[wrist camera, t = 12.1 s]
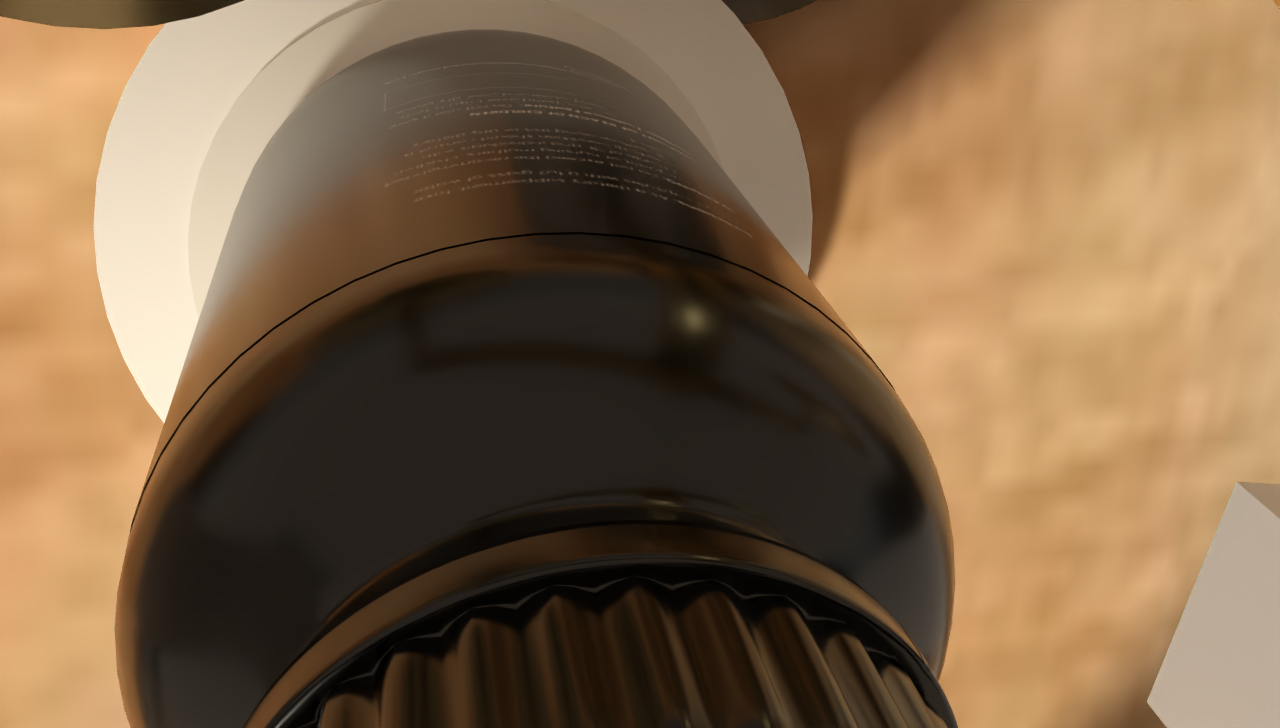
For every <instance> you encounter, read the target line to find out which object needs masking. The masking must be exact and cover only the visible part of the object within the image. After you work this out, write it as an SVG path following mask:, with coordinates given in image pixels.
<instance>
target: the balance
mask: <svg viewBox="0 0 1280 728" xmlns="http://www.w3.org/2000/svg"><path fill="white" fill-rule="evenodd" d="M242 1H244V0H0V16H2V17H7V18H12V19H18V20H23V21H29V22H34V23H40V24H45V25H51V26H61V27H78V28H95V29H112V28H127V27H142V26H154V25H159V24H164V23H169V22H174V21H179V20H184V19H189V18H194V17H199V16H202V15H204V14H207V13H210V12H213V11H216V10H219V9H222V8H225V7H227V6H230V5H233V4H236V3H239V2H242ZM722 1H723V2H724V3H725V4H726V6H727V7H728V8H729V9H730V10H731V11H732V12H733V13H734V14H735V15H736V16H737V18H738V19H739V20H740V22H741V23H742V24H745V23H751V22H756V21H760V20H765V19H770V18H774V17H777V16H780V15H783V14H786V13H789V12H792V11H794V10H797V9H800V8H802V7H804V6H806V5H808V4H810V3H812V2H814V1H816V0H722ZM1273 1H1274V2H1275V4H1276V5H1277V6H1278V7H1279V8H1280V0H1273Z"/></svg>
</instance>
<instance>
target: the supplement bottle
mask: <svg viewBox="0 0 1280 728" xmlns="http://www.w3.org/2000/svg"><path fill="white" fill-rule="evenodd" d="M954 589H955V568H954V544H953V536H952V529H951V523H950V517H949V511H948V506H947V503H946V499H945V496H944V492H943V489H942V486H941V482H940V479H939V475H938V472H937V468H936V466H935V464H934V461H933V459H932V457H931V454H930V452H929V450H928V447H927V445H926V443H925V440H924V438H923V437H922V435H921V433H920V431H919V430H918V428H917V426H916V424H915V423H914V421H913V419H912V418H911V416H910V414H909V412H908V411H907V409H906V407H905V406H904V404H903V402H902V401H901V399H900V398H899V396H898V395H897V393H896V392H895V390H894V388H893V386H892V385H891V383H890V382H889V381H888V379H887V378H886V377H885V375H884V374H883V373H882V371H881V370H880V369H879V367H878V366H877V365H876V363H875V362H874V361H873V360H872V358H871V357H870V356H869V354H868V353H867V352H866V350H865V349H864V348H863V346H862V345H861V344H860V342H859V341H858V340H857V339H856V337H855V336H854V335H853V334H852V332H851V331H850V330H849V329H848V327H847V326H846V325H845V323H844V322H843V321H842V320H841V318H840V317H839V316H838V315H837V313H836V312H835V311H834V309H833V308H832V307H831V306H830V304H829V303H828V302H827V301H826V299H825V298H824V297H823V296H822V294H821V293H820V292H819V291H818V289H817V288H816V287H815V285H814V284H813V283H812V282H811V280H810V279H809V278H808V277H807V275H806V274H805V273H804V272H803V270H802V269H801V268H800V267H799V265H798V264H797V263H796V261H795V260H794V259H793V258H792V256H791V255H790V254H789V253H788V251H787V250H786V249H785V248H784V246H783V245H782V244H781V243H780V241H779V240H778V239H777V237H776V236H775V235H774V234H773V232H772V231H771V230H770V229H769V227H768V226H767V225H766V224H765V222H764V221H763V220H762V219H761V217H760V216H759V215H758V213H757V212H756V211H755V210H754V208H753V207H752V206H751V205H750V203H749V202H748V201H747V200H746V198H745V197H744V196H743V195H742V193H741V192H740V191H739V189H738V188H737V187H736V186H735V184H734V183H733V182H732V181H731V179H730V178H729V177H728V176H727V174H726V173H725V172H724V171H723V169H722V168H721V167H720V165H719V164H718V163H717V162H716V160H715V159H714V158H713V157H712V155H711V154H710V153H709V152H708V150H707V149H706V148H705V147H704V145H703V144H702V143H701V142H700V140H699V139H698V138H697V137H696V135H695V134H694V133H693V132H692V131H691V130H690V129H689V128H688V127H687V125H686V124H685V123H684V122H683V121H682V120H681V119H680V117H679V116H678V115H677V114H676V113H675V112H674V111H673V110H672V109H671V108H670V107H669V106H668V105H667V104H666V103H665V102H664V101H663V100H662V99H661V98H660V97H659V96H658V95H656V94H655V93H654V92H653V91H652V90H651V89H649V88H648V87H647V86H646V85H645V84H643V83H642V82H641V81H639V80H638V79H636V78H635V77H633V76H632V75H630V74H629V73H628V72H626V71H625V70H623V69H622V68H620V67H619V66H617V65H615V64H613V63H611V62H610V61H608V60H606V59H604V58H602V57H600V56H599V55H596V54H594V53H592V52H589V51H587V50H585V49H582V48H580V47H578V46H575V45H572V44H569V43H566V42H563V41H559V40H556V39H553V38H549V37H545V36H540V35H535V34H530V33H525V32H516V31H506V30H462V31H452V32H443V33H438V34H433V35H428V36H423V37H418V38H415V39H412V40H408V41H405V42H402V43H399V44H395V45H392V46H390V47H388V48H385V49H383V50H380V51H378V52H376V53H373V54H371V55H369V56H367V57H365V58H363V59H361V60H359V61H358V62H356V63H354V64H352V65H350V66H348V67H346V68H345V69H343V70H342V71H340V72H339V73H338V74H336V75H335V76H333V77H332V78H330V79H329V80H327V81H326V82H324V83H323V84H322V85H321V86H320V87H318V88H317V89H316V90H315V91H314V92H313V93H311V94H310V95H309V96H308V97H307V98H305V99H304V100H303V101H302V102H301V103H300V105H299V106H298V107H297V108H296V109H295V110H294V111H293V112H292V113H291V114H290V115H289V116H288V117H287V118H286V119H285V121H284V122H283V123H282V125H281V126H280V127H279V129H278V130H277V131H276V132H275V134H274V135H273V136H272V138H271V139H270V140H269V142H268V143H267V145H266V147H265V148H264V150H263V152H262V153H261V155H260V157H259V158H258V160H257V162H256V163H255V165H254V167H253V169H252V171H251V173H250V176H249V178H248V180H247V182H246V184H245V186H244V189H243V191H242V194H241V196H240V199H239V202H238V204H237V206H236V209H235V211H234V214H233V217H232V220H231V223H230V226H229V229H228V232H227V235H226V238H225V241H224V244H223V247H222V250H221V253H220V256H219V259H218V262H217V265H216V268H215V271H214V274H213V277H212V280H211V283H210V286H209V289H208V293H207V296H206V299H205V302H204V305H203V308H202V311H201V314H200V317H199V320H198V323H197V326H196V329H195V332H194V335H193V338H192V341H191V344H190V347H189V350H188V353H187V356H186V359H185V362H184V365H183V368H182V371H181V374H180V377H179V380H178V383H177V386H176V389H175V392H174V395H173V399H172V402H171V405H170V408H169V411H168V414H167V417H166V420H165V423H164V426H163V429H162V432H161V435H160V438H159V441H158V444H157V447H156V450H155V453H154V456H153V459H152V462H151V465H150V468H149V471H148V474H147V477H146V480H145V483H144V487H143V490H142V493H141V496H140V499H139V502H138V505H137V508H136V511H135V514H134V518H133V521H132V525H131V530H130V534H129V539H128V543H127V548H126V553H125V558H124V563H123V567H122V572H121V577H120V582H119V587H118V592H117V605H116V618H115V643H116V661H117V672H118V678H119V684H120V689H121V694H122V700H123V705H124V709H125V712H126V715H127V718H128V721H129V724H130V727H131V728H958V726H957V722H956V720H955V717H954V714H953V712H952V709H951V707H950V705H949V702H948V700H947V698H946V696H945V694H944V692H943V690H942V688H941V686H940V684H939V679H940V676H941V672H942V669H943V666H944V662H945V656H946V651H947V646H948V641H949V636H950V630H951V625H952V615H953V602H954Z"/></svg>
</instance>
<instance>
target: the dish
mask: <svg viewBox="0 0 1280 728" xmlns="http://www.w3.org/2000/svg"><path fill="white" fill-rule="evenodd" d="M462 30H506V31H516V32H525V33H530V34H535V35H540V36H545V37H549V38H553V39H556V40H559V41H563V42H566V43H569V44H572V45H575V46H578V47H580V48H582V49H585V50H587V51H589V52H592V53H594V54H596V55H599V56H600V57H602V58H604V59H606V60H608V61H610V62H611V63H613V64H615V65H617V66H619V67H620V68H622V69H623V70H625V71H626V72H628V73H629V74H630V75H632V76H633V77H635V78H636V79H638V80H639V81H641V82H642V83H643V84H645V85H646V86H647V87H648V88H649V89H651V90H652V91H653V92H654V93H655V94H656V95H658V96H659V97H660V98H661V99H662V100H663V101H664V102H665V103H666V104H667V105H668V106H669V107H670V108H671V109H672V110H673V111H674V112H675V113H676V114H677V115H678V116H679V117H680V119H681V120H682V121H683V122H684V123H685V124H686V125H687V127H688V128H689V129H690V130H691V131H692V132H693V133H694V134H695V135H696V137H697V138H698V139H699V140H700V142H701V143H702V144H703V145H704V147H705V148H706V149H707V150H708V152H709V153H710V154H711V155H712V157H713V158H714V159H715V160H716V162H717V163H718V164H719V165H720V167H721V168H722V169H723V171H724V172H725V173H726V174H727V176H728V177H729V178H730V179H731V181H732V182H733V183H734V184H735V186H736V187H737V188H738V189H739V191H740V192H741V193H742V195H743V196H744V197H745V198H746V200H747V201H748V202H749V203H750V205H751V206H752V207H753V208H754V210H755V211H756V212H757V213H758V215H759V216H760V217H761V219H762V220H763V221H764V222H765V224H766V225H767V226H768V227H769V229H770V230H771V231H772V232H773V234H774V235H775V236H776V237H777V239H778V240H779V241H780V243H781V244H782V245H783V246H784V248H785V249H786V250H787V251H788V253H789V254H790V255H791V256H792V258H793V259H794V260H795V261H796V263H797V264H798V265H799V267H800V268H801V269H802V270H803V272H804V273H805V274H806V275H807V277H808V271H809V265H810V260H811V243H812V221H813V214H812V203H811V192H810V180H809V172H808V168H807V163H806V159H805V155H804V150H803V146H802V141H801V137H800V133H799V130H798V127H797V124H796V122H795V119H794V117H793V114H792V111H791V109H790V106H789V103H788V101H787V98H786V95H785V93H784V90H783V88H782V87H781V85H780V83H779V81H778V79H777V77H776V76H775V74H774V72H773V70H772V68H771V66H770V65H769V63H768V61H767V59H766V57H765V55H764V54H763V52H762V50H761V49H760V47H759V46H758V45H757V43H756V42H755V41H754V39H753V38H752V37H751V35H750V34H749V33H748V31H747V30H746V29H745V27H744V26H743V25H742V23H741V22H740V20H739V19H738V18H737V16H736V15H735V14H734V13H733V12H732V11H731V10H730V9H729V8H728V7H727V6H726V4H725V3H724V2H723V1H722V0H244V1H242V2H239V3H236V4H233V5H230V6H227V7H225V8H222V9H219V10H216V11H213V12H210V13H207V14H204V15H202V16H199V17H194V18H189V19H184V20H179V21H174V22H169V23H166V24H165V25H164V27H163V28H162V29H161V30H160V32H159V33H158V34H157V35H156V37H155V38H154V39H153V40H152V42H151V43H150V44H149V46H148V48H147V50H146V51H145V53H144V55H143V57H142V58H141V60H140V62H139V63H138V65H137V67H136V69H135V70H134V72H133V74H132V76H131V77H130V79H129V81H128V83H127V84H126V86H125V88H124V91H123V93H122V96H121V99H120V101H119V104H118V106H117V109H116V111H115V114H114V117H113V119H112V122H111V124H110V127H109V129H108V132H107V136H106V141H105V145H104V149H103V154H102V158H101V163H100V167H99V172H98V176H97V184H96V199H95V213H94V238H95V250H96V263H97V273H98V278H99V282H100V287H101V291H102V295H103V300H104V304H105V308H106V313H107V317H108V320H109V322H110V325H111V327H112V330H113V333H114V335H115V338H116V340H117V343H118V346H119V348H120V351H121V353H122V356H123V359H124V361H125V362H126V364H127V366H128V368H129V370H130V371H131V373H132V375H133V377H134V379H135V380H136V382H137V384H138V386H139V388H140V389H141V391H142V393H143V395H144V397H145V398H146V400H147V401H148V402H149V404H150V405H151V406H152V408H153V409H154V410H155V412H156V413H157V415H158V416H159V417H160V419H161V420H162V421H163V423H165V420H166V417H167V414H168V411H169V408H170V405H171V402H172V399H173V395H174V392H175V389H176V386H177V383H178V380H179V377H180V374H181V371H182V368H183V365H184V362H185V359H186V356H187V353H188V350H189V347H190V344H191V341H192V338H193V335H194V332H195V329H196V326H197V323H198V320H199V317H200V314H201V311H202V308H203V305H204V302H205V299H206V296H207V293H208V289H209V286H210V283H211V280H212V277H213V274H214V271H215V268H216V265H217V262H218V259H219V256H220V253H221V250H222V247H223V244H224V241H225V238H226V235H227V232H228V229H229V226H230V223H231V220H232V217H233V214H234V211H235V209H236V206H237V204H238V202H239V199H240V196H241V194H242V191H243V189H244V186H245V184H246V182H247V180H248V178H249V176H250V173H251V171H252V169H253V167H254V165H255V163H256V162H257V160H258V158H259V157H260V155H261V153H262V152H263V150H264V148H265V147H266V145H267V143H268V142H269V140H270V139H271V138H272V136H273V135H274V134H275V132H276V131H277V130H278V129H279V127H280V126H281V125H282V123H283V122H284V121H285V119H286V118H287V117H288V116H289V115H290V114H291V113H292V112H293V111H294V110H295V109H296V108H297V107H298V106H299V105H300V103H301V102H302V101H303V100H304V99H305V98H307V97H308V96H309V95H310V94H311V93H313V92H314V91H315V90H316V89H317V88H318V87H320V86H321V85H322V84H323V83H324V82H326V81H327V80H329V79H330V78H332V77H333V76H335V75H336V74H338V73H339V72H340V71H342V70H343V69H345V68H346V67H348V66H350V65H352V64H354V63H356V62H358V61H359V60H361V59H363V58H365V57H367V56H369V55H371V54H373V53H376V52H378V51H380V50H383V49H385V48H388V47H390V46H392V45H395V44H399V43H402V42H405V41H408V40H412V39H415V38H418V37H423V36H428V35H433V34H438V33H443V32H452V31H462Z"/></svg>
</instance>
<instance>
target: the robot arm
mask: <svg viewBox="0 0 1280 728" xmlns="http://www.w3.org/2000/svg"><path fill="white" fill-rule="evenodd" d="M1147 703H1148V704H1149V706H1150V707H1151V708H1152V710H1153V711H1154V712H1155V713H1156V715H1157V716H1158V717H1159V718H1160V720H1161V721H1162V722H1163V724H1164V725H1165V726H1166V727H1167V728H1280V484H1265V483H1250V482H1236V484H1235V486H1234V489H1233V491H1232V494H1231V496H1230V499H1229V501H1228V503H1227V506H1226V508H1225V511H1224V513H1223V516H1222V518H1221V521H1220V523H1219V526H1218V528H1217V531H1216V533H1215V535H1214V538H1213V540H1212V543H1211V545H1210V548H1209V550H1208V553H1207V555H1206V558H1205V560H1204V562H1203V565H1202V567H1201V570H1200V572H1199V575H1198V577H1197V580H1196V582H1195V585H1194V587H1193V590H1192V592H1191V594H1190V597H1189V599H1188V602H1187V604H1186V607H1185V609H1184V612H1183V614H1182V617H1181V619H1180V622H1179V624H1178V626H1177V629H1176V631H1175V634H1174V636H1173V639H1172V641H1171V644H1170V646H1169V649H1168V651H1167V654H1166V656H1165V658H1164V661H1163V663H1162V666H1161V668H1160V671H1159V673H1158V676H1157V678H1156V681H1155V683H1154V686H1153V688H1152V690H1151V693H1150V695H1149V698H1148V700H1147Z"/></svg>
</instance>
